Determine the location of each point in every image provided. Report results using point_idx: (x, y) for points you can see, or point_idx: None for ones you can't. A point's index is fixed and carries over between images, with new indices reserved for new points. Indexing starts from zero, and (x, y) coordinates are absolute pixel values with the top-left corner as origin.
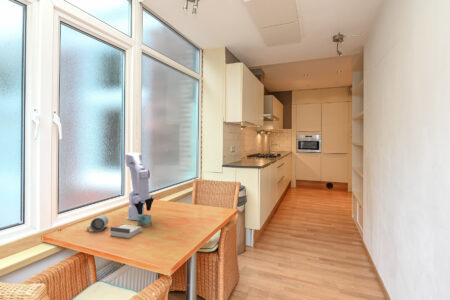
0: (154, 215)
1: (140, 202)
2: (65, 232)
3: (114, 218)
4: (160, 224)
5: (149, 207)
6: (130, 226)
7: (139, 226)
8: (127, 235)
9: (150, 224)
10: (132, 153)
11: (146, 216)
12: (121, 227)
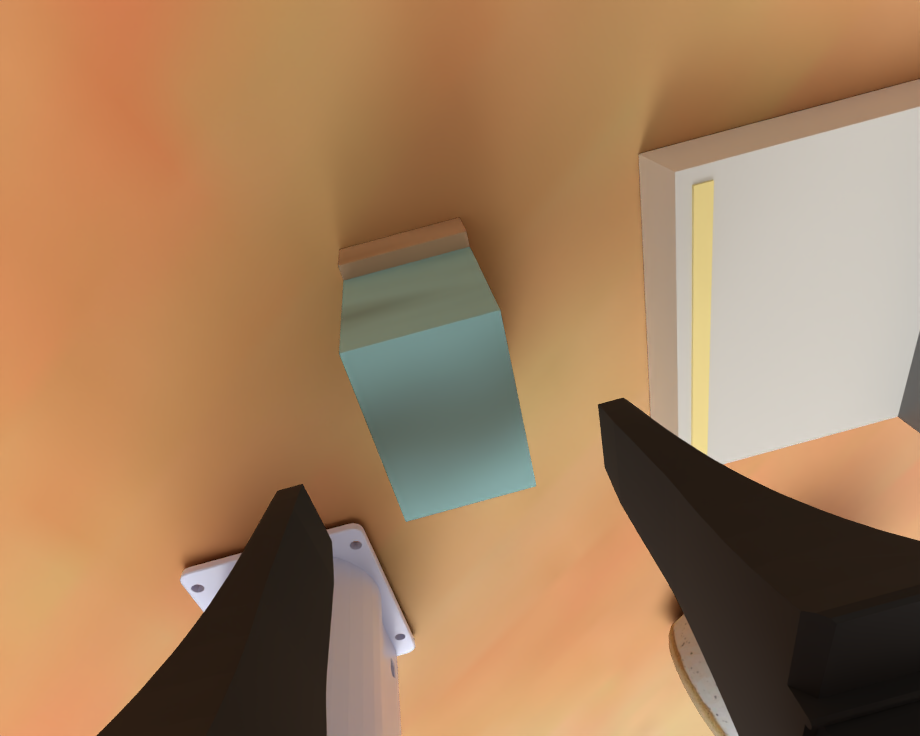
0: (49, 554)
1: (854, 722)
2: None
3: (466, 727)
4: (215, 105)
5: (290, 556)
6: (724, 338)
7: (681, 209)
8: None
9: (377, 245)
10: None
11: (469, 347)
12: (789, 405)
